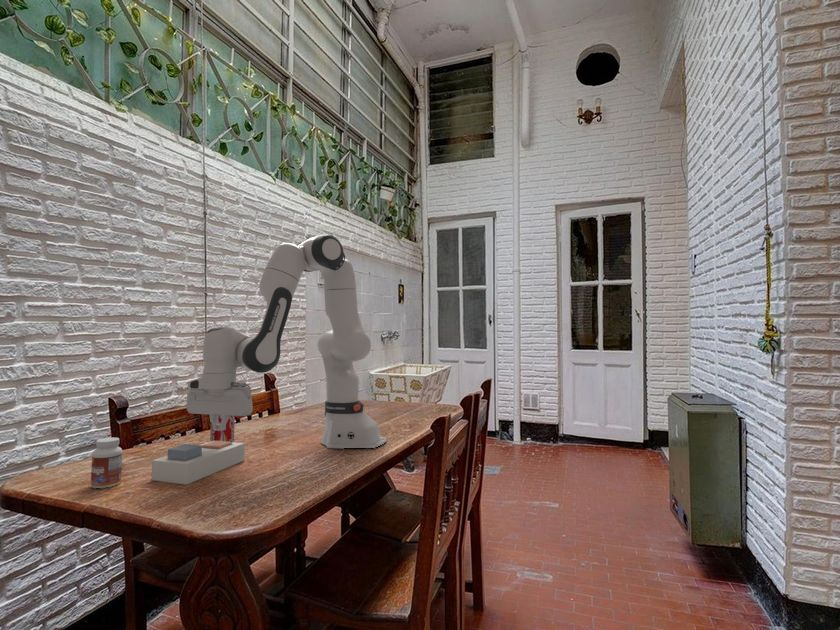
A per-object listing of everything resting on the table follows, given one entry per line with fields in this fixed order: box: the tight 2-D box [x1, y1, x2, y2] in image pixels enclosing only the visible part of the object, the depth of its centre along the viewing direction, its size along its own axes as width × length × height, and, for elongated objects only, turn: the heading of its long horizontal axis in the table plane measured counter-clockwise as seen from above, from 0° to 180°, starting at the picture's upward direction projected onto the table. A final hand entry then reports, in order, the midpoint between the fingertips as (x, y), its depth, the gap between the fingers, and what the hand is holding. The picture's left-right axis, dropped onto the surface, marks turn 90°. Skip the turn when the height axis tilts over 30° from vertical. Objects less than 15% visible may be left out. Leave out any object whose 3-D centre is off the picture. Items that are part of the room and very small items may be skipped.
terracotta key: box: [202, 441, 232, 449], centre depth 128 cm, size 6×6×4 cm
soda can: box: [209, 415, 235, 442], centre depth 143 cm, size 7×7×12 cm
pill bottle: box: [90, 437, 123, 489], centre depth 110 cm, size 6×6×11 cm
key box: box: [150, 441, 246, 485], centre depth 123 cm, size 11×22×5 cm, turn 164°
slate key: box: [167, 443, 202, 461], centre depth 117 cm, size 6×6×4 cm
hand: (219, 430), depth 129 cm, fingers closed
